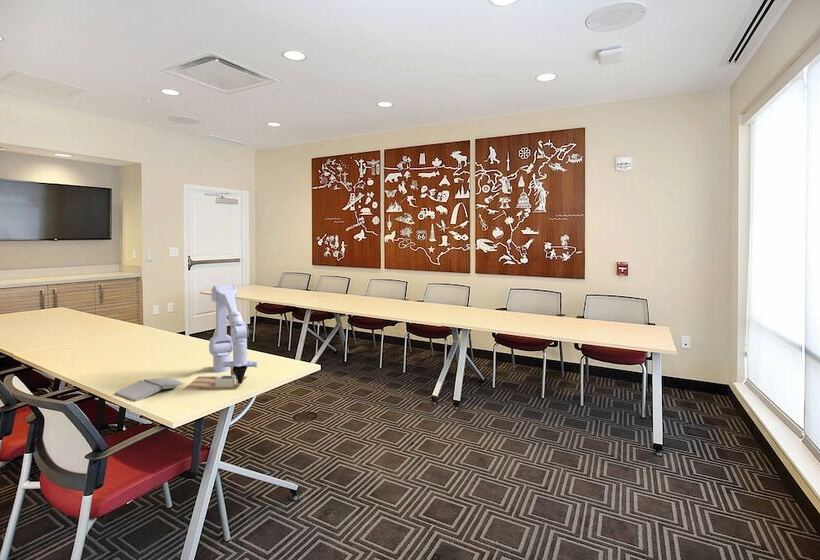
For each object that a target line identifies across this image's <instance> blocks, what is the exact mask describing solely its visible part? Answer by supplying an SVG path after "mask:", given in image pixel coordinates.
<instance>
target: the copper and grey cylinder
mask: <svg viewBox="0 0 820 560" xmlns="http://www.w3.org/2000/svg"><path fill="white" fill-rule="evenodd" d="M230 376H236V375H235V373H234V372H233V367H230ZM236 379H237V377H236Z"/></svg>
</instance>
